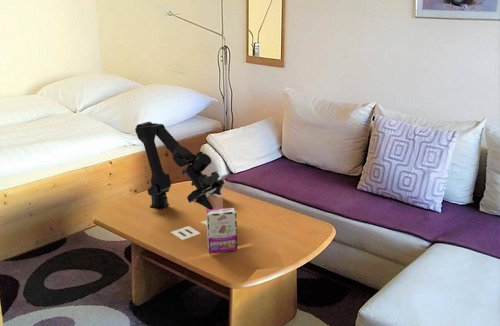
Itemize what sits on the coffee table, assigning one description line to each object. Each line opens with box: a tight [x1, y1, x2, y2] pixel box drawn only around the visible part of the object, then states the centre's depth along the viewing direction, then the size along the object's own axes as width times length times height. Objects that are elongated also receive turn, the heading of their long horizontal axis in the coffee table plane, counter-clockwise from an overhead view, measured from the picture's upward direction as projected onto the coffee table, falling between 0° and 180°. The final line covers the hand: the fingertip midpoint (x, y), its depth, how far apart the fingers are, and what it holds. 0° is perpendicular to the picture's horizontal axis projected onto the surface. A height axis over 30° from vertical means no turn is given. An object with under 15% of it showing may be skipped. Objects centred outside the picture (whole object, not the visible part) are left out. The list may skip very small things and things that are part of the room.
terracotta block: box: [205, 194, 224, 210], centre depth 232 cm, size 5×5×12 cm
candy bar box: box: [205, 207, 238, 254], centre depth 210 cm, size 11×5×16 cm, turn 101°
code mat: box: [170, 219, 207, 241], centre depth 229 cm, size 26×15×1 cm, turn 130°
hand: (217, 207), depth 230 cm, fingers open, 6 cm apart
